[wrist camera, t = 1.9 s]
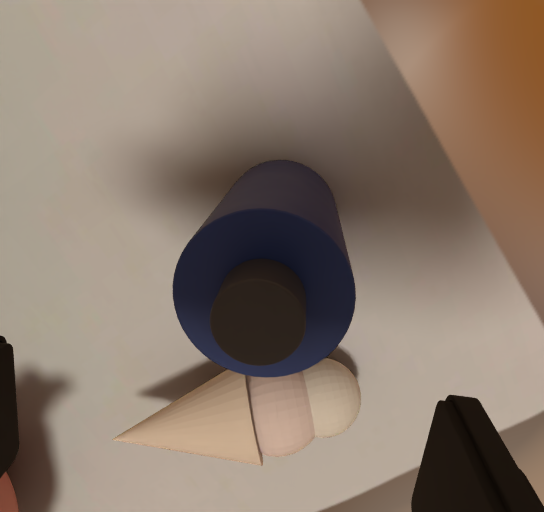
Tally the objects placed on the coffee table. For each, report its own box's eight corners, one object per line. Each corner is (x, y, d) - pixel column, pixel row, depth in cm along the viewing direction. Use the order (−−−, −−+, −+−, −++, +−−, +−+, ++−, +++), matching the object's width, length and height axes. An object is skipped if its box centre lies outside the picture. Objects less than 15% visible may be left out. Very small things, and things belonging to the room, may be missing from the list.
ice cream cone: (124, 392, 33) (341, 349, 33) (131, 491, 30) (365, 443, 31) (89, 380, 27) (352, 328, 28) (95, 501, 25) (382, 442, 25)
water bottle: (344, 167, 27) (380, 239, 14) (327, 274, 29) (343, 424, 16) (231, 153, 27) (159, 210, 14) (221, 259, 29) (151, 397, 16)
